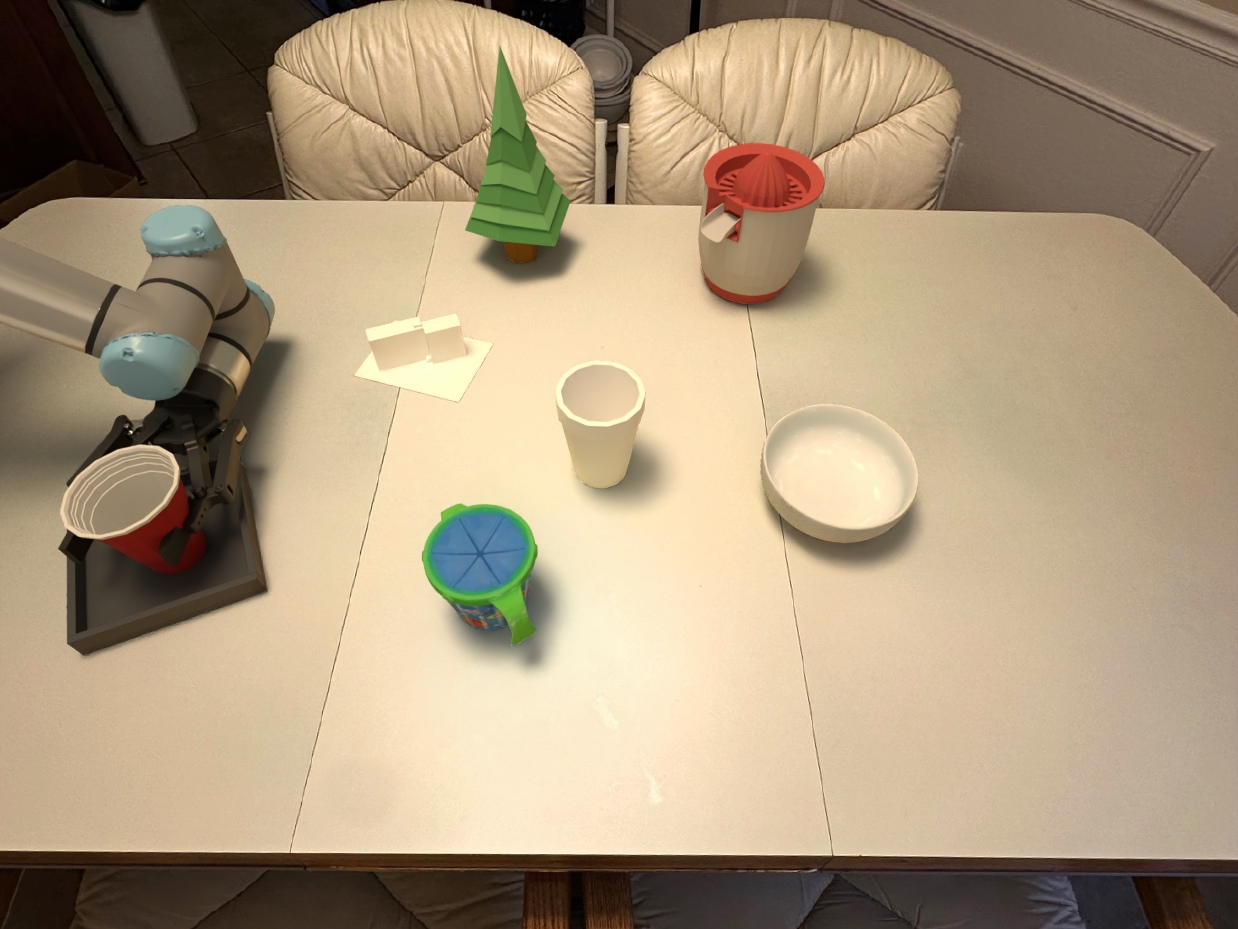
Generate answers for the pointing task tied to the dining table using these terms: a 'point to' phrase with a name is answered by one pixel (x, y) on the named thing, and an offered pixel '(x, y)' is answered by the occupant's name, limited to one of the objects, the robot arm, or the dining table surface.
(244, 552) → the tray
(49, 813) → the dining table surface
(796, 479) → the cereal bowl
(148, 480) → the plastic cup
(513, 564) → the snack cup
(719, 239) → the citrus juicer
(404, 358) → the napkin holder
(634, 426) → the foam cup
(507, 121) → the decorative tree
